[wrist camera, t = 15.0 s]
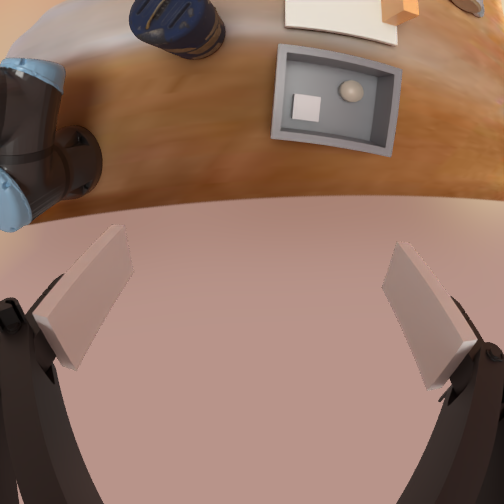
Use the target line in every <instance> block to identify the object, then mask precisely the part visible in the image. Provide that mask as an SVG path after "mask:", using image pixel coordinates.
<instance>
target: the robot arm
mask: <svg viewBox="0 0 504 504" xmlns="http://www.w3.org/2000/svg"><path fill="white" fill-rule="evenodd" d="M65 75H66V71H65V69H64V67H63V66H62V65H60V64H58V63H55V62H50V61H45V60H38V59H25V58H6V59H4V60H2V62H1V64H0V230H2V231H5V232H15V231H17V230H18V229H20V228H22V227H23V226H25V225H28V224H29V223H31V221H32V220H34V219H35V218H36V217H38V216H39V215H40V214H42V213H43V212H45V211H46V210H47V209H49V208H50V207H52V206H53V205H54V204H56V203H57V202H59V201H60V200H69V199H76V198H79V197H82V196H84V195H85V194H87V193H88V192H90V191H91V190H92V189H93V188H94V187H95V185H96V184H97V182H98V180H99V178H100V175H101V170H102V155H101V151H100V147H99V145H98V143H97V141H96V139H95V137H94V136H93V135H92V134H91V133H90V132H89V131H88V130H87V129H85V128H83V127H81V126H75V125H74V126H68V127H64V128H61V129H59V130H57V131H56V124H57V118H58V112H59V106H60V101H61V96H62V95H63V93H64V91H63V86H64V80H65ZM133 273H134V271H133V266H132V261H131V256H130V251H129V245H128V240H127V234H126V229H125V225H114V224H112V225H111V226H110V227H109V228H108V229H107V230H106V231H105V232H104V233H103V234H102V235H101V236H100V237H99V238H98V239H97V240H96V241H95V242H94V243H93V244H92V245H91V246H90V247H89V248H88V249H87V250H86V251H85V252H84V253H83V254H82V255H81V257H80V258H79V259H78V260H77V261H76V262H75V263H74V264H73V265H72V266H71V267H70V268H69V270H68V271H67V272H66V273H65V274H62V275H61V276H59V277H58V278H56V279H55V280H54V281H53V282H52V283H51V284H50V285H49V286H48V289H46V290H45V291H44V292H43V294H42V295H41V296H40V297H39V299H37V301H36V302H35V303H34V304H33V306H32V307H31V308H30V310H29V311H28V312H27V314H26V315H25V314H24V312H23V310H22V308H21V306H20V304H19V302H18V300H17V299H15V298H6V299H4V300H2V301H0V504H19V499H18V491H17V484H18V487H19V490H20V493H21V496H22V499H23V502H24V504H104V503H103V501H102V500H101V498H100V496H99V494H98V492H97V490H96V488H95V485H94V483H93V482H92V479H91V477H90V475H89V473H88V470H87V468H86V465H85V463H84V461H83V458H82V456H81V453H80V451H79V448H78V446H77V443H76V440H75V437H74V434H73V431H72V428H71V425H70V422H69V419H68V416H67V412H66V408H65V405H64V401H63V397H62V394H61V390H60V386H59V381H58V377H57V372H56V368H55V366H54V364H53V361H54V359H55V357H57V359H58V360H59V362H60V363H61V365H62V366H64V367H67V368H70V369H73V370H76V371H77V369H78V367H79V365H80V364H81V362H82V360H83V358H84V356H85V354H86V352H87V350H88V349H89V347H90V345H91V343H92V341H93V339H94V338H95V336H96V334H97V332H98V330H99V329H100V327H101V325H102V323H103V322H104V320H105V318H106V317H107V315H108V313H109V311H110V310H111V308H112V306H113V305H114V303H115V302H116V300H117V298H118V297H119V295H120V293H121V292H122V290H123V289H124V287H125V285H126V284H127V282H128V281H129V279H130V277H131V276H132V274H133ZM382 289H383V291H384V293H385V295H386V297H387V299H388V301H389V302H390V305H391V307H392V309H393V311H394V313H395V315H396V318H397V319H398V322H399V324H400V326H401V328H402V331H403V333H404V335H405V337H406V340H407V342H408V344H409V347H410V349H411V351H412V354H413V356H414V358H415V361H416V363H417V366H418V368H419V371H420V374H421V376H422V379H423V381H424V384H425V387H426V389H427V391H428V390H433V389H438V388H441V387H442V386H443V385H444V384H445V383H446V382H447V380H448V379H450V381H451V383H452V385H451V386H450V387H449V388H448V389H447V391H446V392H445V393H444V394H443V395H442V396H441V397H440V399H439V400H438V401H439V402H441V401H442V400H443V398H445V400H444V403H443V406H442V409H441V412H440V414H439V417H438V420H437V422H436V425H435V428H434V430H433V432H432V435H431V437H430V440H429V442H428V445H427V446H426V449H425V451H424V453H423V455H422V457H421V460H420V462H419V464H418V466H417V468H416V469H415V471H414V473H413V475H412V477H411V479H410V481H409V483H408V484H407V486H406V488H405V490H404V492H403V493H402V495H401V497H400V498H399V500H398V502H397V503H396V504H504V354H503V352H502V350H500V348H499V347H498V346H497V345H495V344H493V343H490V342H486V343H485V342H484V341H483V339H482V337H481V336H480V334H479V332H478V331H477V329H476V327H475V326H474V324H473V323H472V321H471V320H469V319H470V318H469V317H468V315H467V314H466V313H465V311H464V309H463V308H462V306H461V305H460V303H458V301H456V300H455V299H454V298H453V297H452V296H449V294H448V293H447V291H446V290H445V289H444V287H443V286H442V284H441V283H440V281H439V280H438V279H437V277H436V276H435V275H434V273H433V272H432V271H431V269H430V268H429V267H428V265H427V264H426V263H425V262H424V260H423V259H422V258H421V256H420V255H419V254H418V253H417V252H416V250H415V249H414V248H413V247H412V245H411V244H410V243H407V242H396V246H395V249H394V252H393V255H392V259H391V262H390V265H389V268H388V271H387V274H386V277H385V279H384V282H383V285H382ZM16 480H17V483H16Z"/></svg>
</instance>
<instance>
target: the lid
mask: <svg viewBox="0 0 504 504" xmlns="http://www.w3.org/2000/svg"><path fill="white" fill-rule="evenodd" d="M417 16H419V10H418V1H417V0H285V28H297V29H308V30H317V31H324V32H331V33H337V34H343V35H349V36H354V37H359V38H364V39H368V40H372V41H376V42H380V43H384V44H388V45H392V46H397V25H399V24H401V23H403V22H406V21H408V20H410V19H412V18H415V17H417Z"/></svg>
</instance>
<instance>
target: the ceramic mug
mask: <svg viewBox="0 0 504 504" xmlns="http://www.w3.org/2000/svg"><path fill="white" fill-rule="evenodd" d="M452 2H453V3H454V4H455V5H456V6H458V7H459V8H461V9H463V10H465V11H467V12H471V13H473V14H474V15H475V16H477V17H483V16H484V5H483V0H452Z"/></svg>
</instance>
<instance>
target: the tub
mask: <svg viewBox="0 0 504 504" xmlns="http://www.w3.org/2000/svg"><path fill="white" fill-rule="evenodd" d="M401 80H402V69H399V68H396V67H393V66H390V65H386V64H383V63H379V62H376V61H372V60H369V59H365V58H361V57H357V56H352V55H348V54H343V53H339V52H334V51H328V50H323V49H317V48H311V47H304V46H296V45H288V44H278V49H277V57H276V70H275V82H274V95H273V107H272V119H271V131H270V134H271V139H279V140H289V141H298V142H306V143H314V144H321V145H328V146H334V147H340V148H346V149H352V150H358V151H363V152H368V153H373V154H378V155H383V156H387V157H391V155H392V149H393V143H394V137H395V130H396V124H397V116H398V109H399V100H400V91H401Z"/></svg>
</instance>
